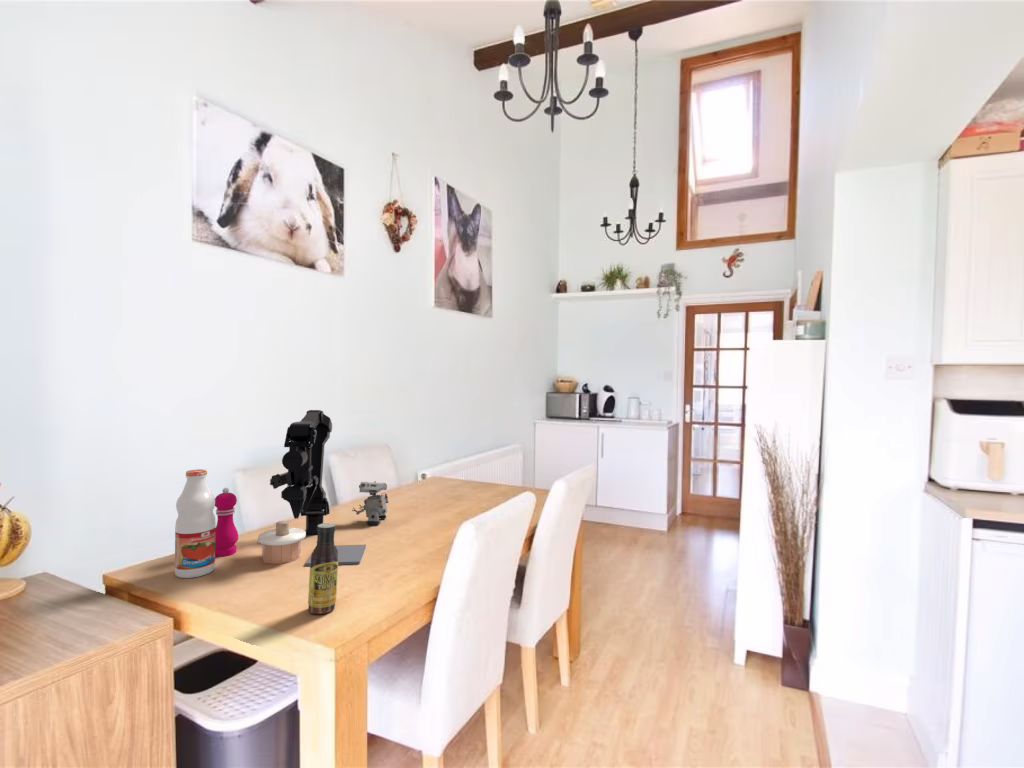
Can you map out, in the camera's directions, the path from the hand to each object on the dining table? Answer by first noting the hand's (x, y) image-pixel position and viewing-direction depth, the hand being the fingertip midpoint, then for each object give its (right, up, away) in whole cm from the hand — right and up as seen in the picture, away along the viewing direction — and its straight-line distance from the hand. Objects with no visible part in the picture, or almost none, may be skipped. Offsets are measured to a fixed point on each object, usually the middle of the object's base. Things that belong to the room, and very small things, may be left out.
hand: (300, 513), depth 157 cm
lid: (-3, -6, -5) cm, 9 cm away
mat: (+12, -12, -3) cm, 18 cm away
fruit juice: (-22, -12, -17) cm, 30 cm away
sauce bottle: (+21, -13, -38) cm, 45 cm away
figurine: (+13, -12, +34) cm, 38 cm away
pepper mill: (-22, -12, -2) cm, 25 cm away
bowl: (-3, -12, -5) cm, 14 cm away
